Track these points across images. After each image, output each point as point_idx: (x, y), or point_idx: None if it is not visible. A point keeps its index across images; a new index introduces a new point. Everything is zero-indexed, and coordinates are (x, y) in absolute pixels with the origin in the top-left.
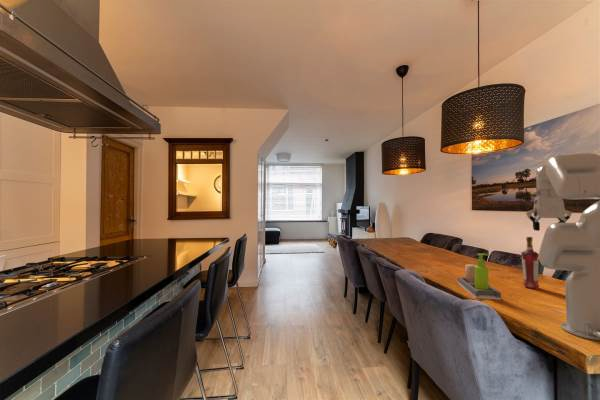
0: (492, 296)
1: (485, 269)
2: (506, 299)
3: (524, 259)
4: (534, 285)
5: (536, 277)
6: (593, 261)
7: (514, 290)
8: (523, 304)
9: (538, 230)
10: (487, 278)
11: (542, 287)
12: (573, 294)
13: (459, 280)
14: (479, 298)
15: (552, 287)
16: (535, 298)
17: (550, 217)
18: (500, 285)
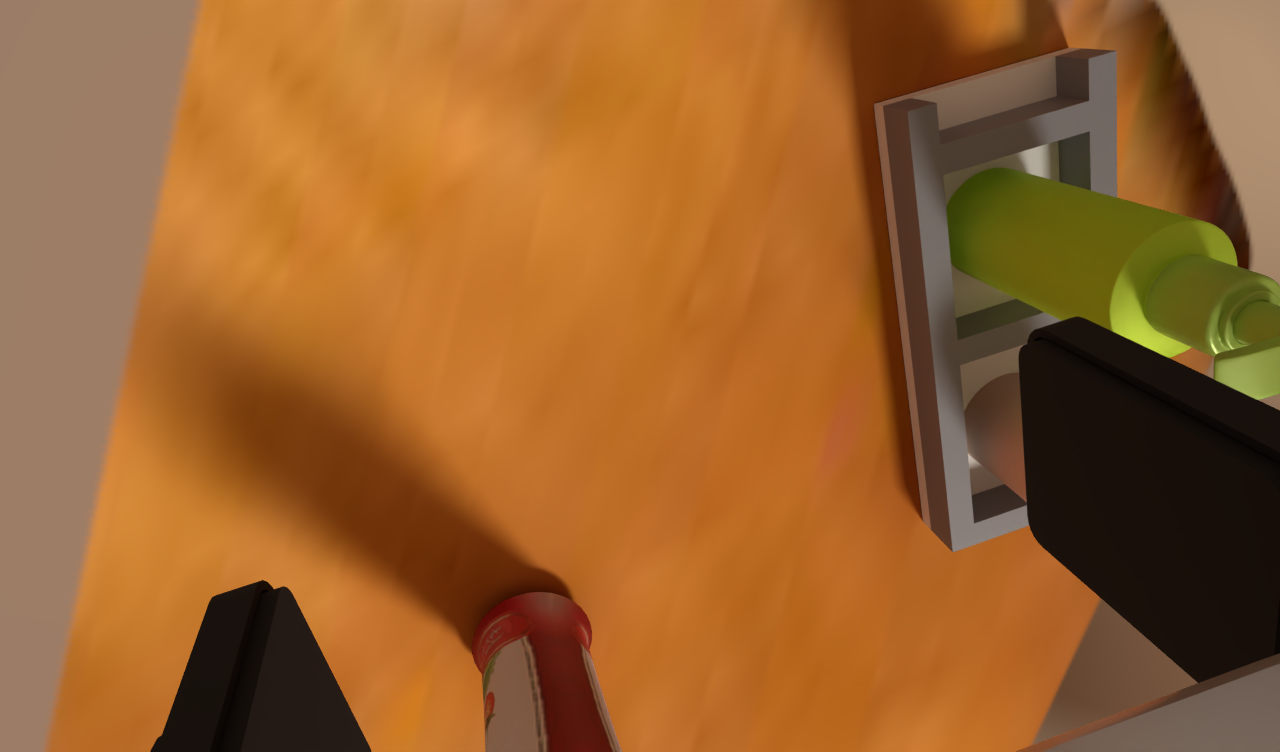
0: (942, 113)
1: (1144, 228)
2: (825, 139)
3: None
4: (518, 609)
5: (505, 671)
6: None
7: (687, 466)
8: (725, 43)
9: (1053, 323)
10: (1048, 222)
11: (437, 677)
12: None
13: None
14: (1040, 56)
15: (357, 718)
16: (578, 294)
17: (1066, 746)
18: (760, 566)
